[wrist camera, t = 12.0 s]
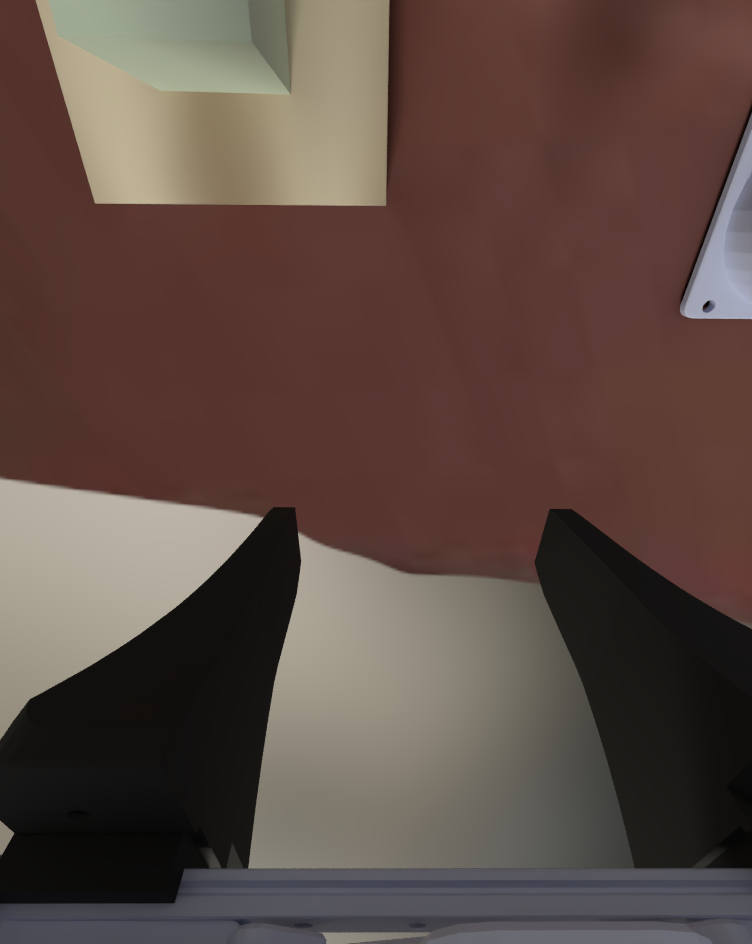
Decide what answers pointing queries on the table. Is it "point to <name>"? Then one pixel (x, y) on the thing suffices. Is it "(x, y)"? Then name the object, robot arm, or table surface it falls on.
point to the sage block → (184, 41)
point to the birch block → (242, 121)
